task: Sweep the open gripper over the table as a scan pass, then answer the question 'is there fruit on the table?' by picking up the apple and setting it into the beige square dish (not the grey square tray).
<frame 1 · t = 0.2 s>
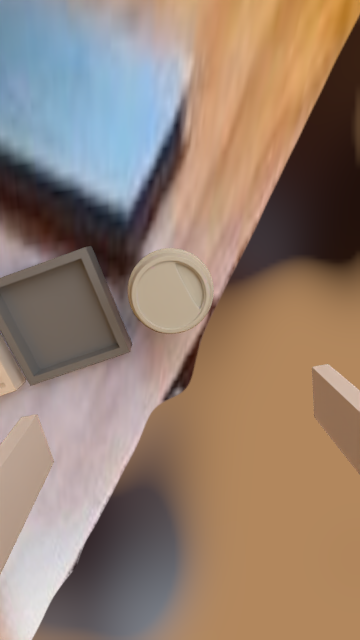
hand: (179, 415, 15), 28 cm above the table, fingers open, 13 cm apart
coffee cup: (169, 277, 41), on the table
grey square tray: (63, 314, 41), on the table
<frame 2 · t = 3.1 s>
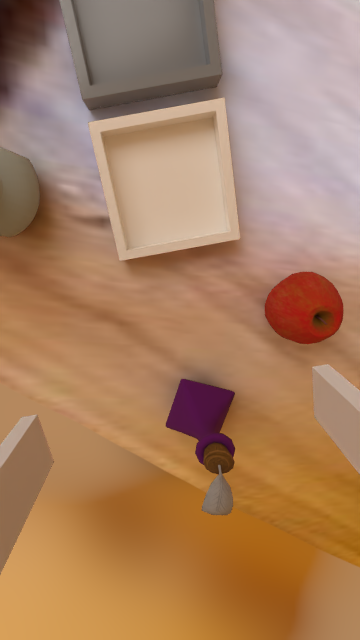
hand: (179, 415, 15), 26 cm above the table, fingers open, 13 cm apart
beige square dish: (168, 187, 36), on the table
perfume bottle: (196, 395, 44), on the table
apple: (286, 298, 41), on the table
grey square tray: (139, 18, 31), on the table
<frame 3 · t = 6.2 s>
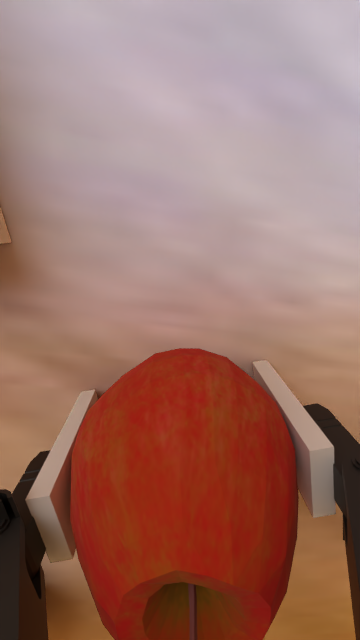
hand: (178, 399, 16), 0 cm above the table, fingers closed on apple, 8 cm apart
apple: (179, 393, 16), on the table, touching gripper
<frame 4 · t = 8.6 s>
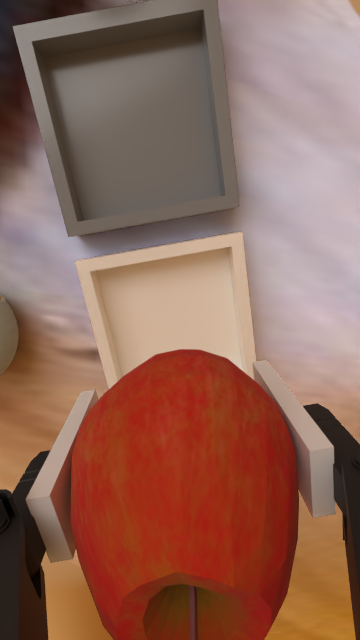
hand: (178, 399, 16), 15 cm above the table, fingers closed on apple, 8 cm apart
beige square dish: (172, 317, 30), on the table
apple: (179, 393, 16), point 14 cm above the table, touching gripper
grey square tray: (139, 135, 26), on the table
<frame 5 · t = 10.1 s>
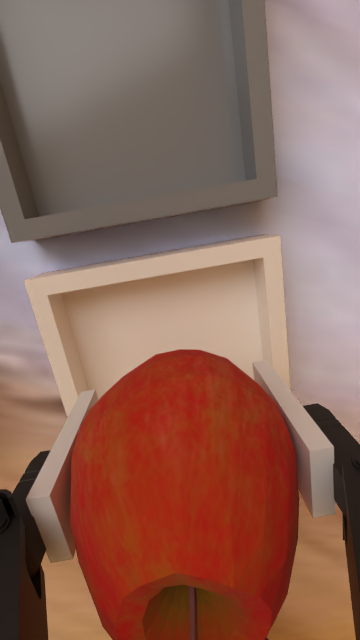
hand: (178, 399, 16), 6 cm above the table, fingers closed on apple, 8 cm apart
beige square dish: (172, 354, 21), on the table
apple: (179, 394, 16), point 5 cm above the table, touching gripper
grey square tray: (122, 86, 17), on the table
when the fingers open (3 cm above the table, at t = 11.0 s): apple drops 2 cm, resting on beige square dish.
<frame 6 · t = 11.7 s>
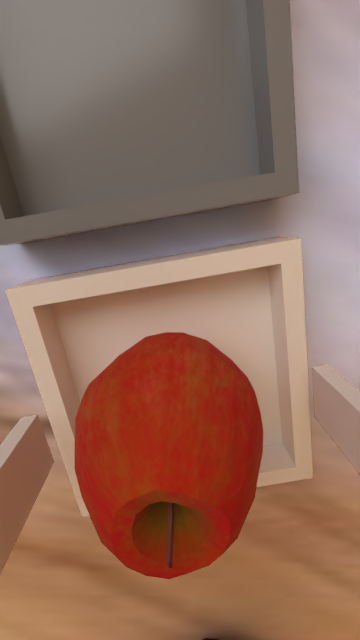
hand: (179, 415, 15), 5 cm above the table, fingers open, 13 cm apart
beige square dish: (176, 371, 19), on the table
apple: (169, 376, 19), point 1 cm above the table, touching beige square dish
grey square tray: (118, 67, 15), on the table
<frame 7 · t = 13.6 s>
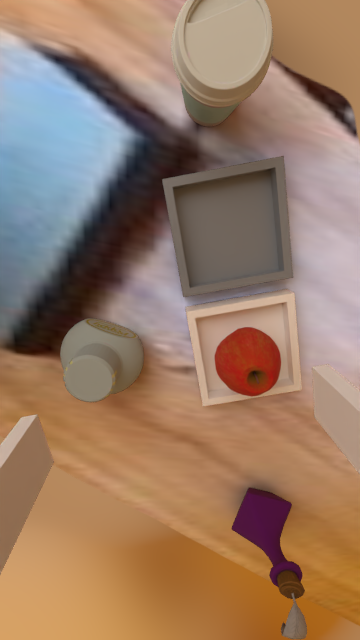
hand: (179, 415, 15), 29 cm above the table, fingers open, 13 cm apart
beige square dish: (241, 345, 44), on the table
air freshener: (107, 347, 44), on the table
coffee cup: (208, 99, 36), on the table
perfume bottle: (255, 498, 52), on the table
apple: (239, 346, 44), point 1 cm above the table, touching beige square dish
grey square tray: (226, 230, 40), on the table
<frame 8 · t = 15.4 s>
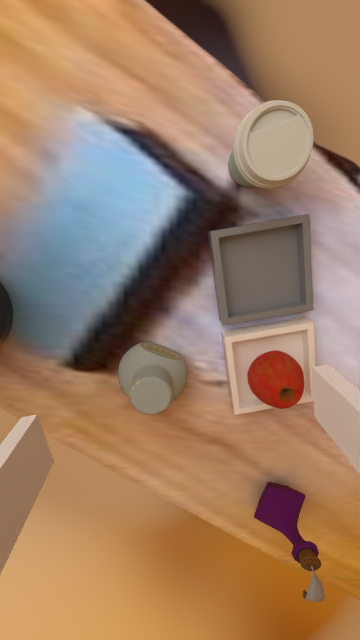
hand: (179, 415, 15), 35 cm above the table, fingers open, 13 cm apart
beige square dish: (266, 362, 52), on the table
air freshener: (153, 365, 52), on the table
coffee cup: (248, 164, 44), on the table
perfume bottle: (273, 491, 61), on the table
apple: (265, 364, 52), point 1 cm above the table, touching beige square dish
grey square tray: (258, 269, 48), on the table
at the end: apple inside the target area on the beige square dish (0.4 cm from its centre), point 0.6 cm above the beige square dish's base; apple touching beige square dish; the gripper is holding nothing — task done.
